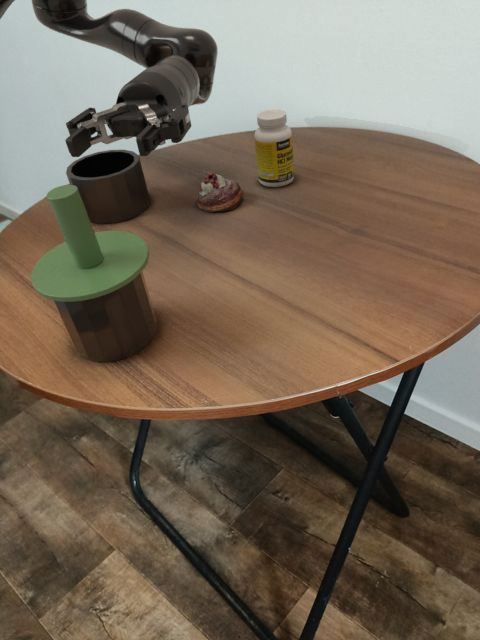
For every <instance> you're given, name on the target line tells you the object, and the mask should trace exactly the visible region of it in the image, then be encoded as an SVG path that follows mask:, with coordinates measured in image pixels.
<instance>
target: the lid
mask: <svg viewBox="0 0 480 640" xmlns="http://www.w3.org/2000/svg"><path fill="white" fill-rule="evenodd" d="M46 198H47V202H48V203H49V205H50V208H51V210H52V212H53V215H54V217H55V220H56V222H57V224H58V227H59V229H60V232H61V233H62V236H63V238H64V240H65V241H64V242H61V243H60V244H58V245H56V246H54V247H53V248H52V249H51V250H49V251H47V252H46V253H45V254H44V255H42V256H41V257H40V258H39V259H38V261H37V262H36V263H35V264H34V266H33V268H32V271H31V273H30V281H31V284H32V286H33V287H32V288H33V289H34V291H35V292H36V293H37V294H39V295H40V296H41V297H43V298H44V299H47V300H50V301H52V300H55V301H63V302H74V301H83V300H88V299H93V298H97V297H100V296H103V295H106V294H108V293H111V292H113V291H115V290H117V289H119V288H121V287H123V286H125V285H126V284H128V283H129V282H131V281H132V280H133V279H135V278H136V277H137V276H138V275H139V274H140V273H141V272H143V271H144V270H145V268H146V266H147V265H148V263H149V260H150V250H149V246H148V244H147V242H146V241H145V239H143V238H142V237H140V236H139V235H137V234H135V233H133V232H128V231H123V230H104V231H103V230H101V231H96V232H95V230H94V227H93V225H92V223H91V222H90V220H89V217H88V214H87V212H86V209H85V206H84V204H83V201H82V198H81V196H80V193H79V191H78V188H77V187H76V186H75V185H70V184H64V185H59V186H57V187H53V188H52V189H51V190H49V191H48V192H47V193H46Z"/></svg>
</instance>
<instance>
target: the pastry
mask: <svg viewBox="0 0 480 640" xmlns="http://www.w3.org/2000/svg"><path fill="white" fill-rule="evenodd" d="M198 191H199V192H198V193H197V197H196V204H197V206H198V208H199V209H200V210H203V211H205V212H208V213H209V212H211V213H216V212H226V211H231V210H233V209H235V208H236V207H237V206H238V205H239V204H240V203H241V201H242V199H243V197H244V191H243V189H242V188H241V185H240V184H239V182H237V181H235V180H233V179H228V178H224V177H223V176H222V175H220V174H217V173H214V172H212V171H206V176H205V177H204V179H203V180H202V181H201V183H200V184H199V187H198Z"/></svg>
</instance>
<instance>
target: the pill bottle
mask: <svg viewBox="0 0 480 640" xmlns="http://www.w3.org/2000/svg"><path fill="white" fill-rule="evenodd" d="M287 120H288V119H287V111H285V110H282V109H268V110H264V111H260V112H258V114H257V115H256V122H257V126H258V127H257V128H256V130H255V132H254V135H253V136H254V137H253V138H254V148H255V156H256V157H255V158H256V167H257V177H258V181H259V184H261V185H262V186H264V187H268V188H281V187H285V186H287V185H290V184H291V183H292V182H293V181H294V179H295V165H294V147H293V146H294V145H293V132H292V128H291V127H289V126H288V125H287Z"/></svg>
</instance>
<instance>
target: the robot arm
mask: <svg viewBox="0 0 480 640" xmlns="http://www.w3.org/2000/svg"><path fill="white" fill-rule="evenodd" d="M15 1H16V0H0V20H2V18H3V16H4V15H5V14H6V12H7V11H8V9H9V8H10V7H11V6H12V4H13V3H14V2H15ZM31 4H32V9H33V13H34V16H35V17H36V19H37V21H38V22H39V23H40V24H41V25H42V26H44V27H46V28H48V29H49V30H50V31H54V32H56V33H58V34H62V35H65V36H68V37H70V38H73V39H76V40H79V41H82V42H86V43H89V44H91V45H96V46H98V47H102V48H105V49H108V50H110V51H113V52H115V53H117V54H119V55H121V56H123V57H125V58H127V59H128V60H130V61H133V62H134V63H135V64H138V65H139V66H141V67H143V68H144V70H142V71H141V72H140V73H138V74H137V75H136V76H134V77H133V78H132V79H131V80H130V81H128V82H127V83H125V84H124V85H123V86H122V87H121V89H120V91H119V93H118V95H117V97H116V102H115V104H113V105H112V107H111V108H107V109H104V110H102V111H99V112H97V110H96V108H95V107H88V108H86V109H85V110H83V111H82V112H80V113H78V114H77V115H76V116H75V117H73V118H71V119H70V120H68V121H67V122H65V126H66V128H67V131H68V134H69V136H67V138H66V139H65V140H64V141H65V144H66V148H67V150H68V153H69V154H70V157H72V158H81V157H82V155H84V153H85V152H87V151H88V150H89V149H90V148H92V146H93V145H94V146H95V145H96V144H99V143H102V144H105V145H110V144H112V143H115V142H119V141H120V140H123V139H125V140H129V139H132V138H135V141H136V146H137V149H138V150H137V151H138V153H139V154H138V155H139V157H148V156H149V155H150V154H151V153H152V152H153V151H155V150H156V149H157V148H158V147H159V146H163V145H165V144H166V141H167V140H170V141H171V143H173V144H179V143H180V142H182V141H183V140H184V138H185V136H186V135H187V133H188V132H189V131H190V129H191V128H192V121H191V116H190V109H189V108H190V107H191V106H197V105H203V104H205V103H207V102H208V100H209V99H210V97H211V95H212V92H213V86H214V80H215V72H216V66H217V61H218V52H219V51H218V49H219V48H218V44H217V42H216V40H215V38H214V37H213V36H212V35H211V34H210V33H209V32H207V31H206V30H203V29H200V28H193V27H192V28H191V27H177V26H173V25H168V24H165V23H162V22H160V21H157V20H156V19H154V18H152V17H150V16H148V15H146V14H144V13H142V12H140V11H138V10H135V9H130V8H119V9H115V10H113V11H110V12H109V13H106V14H105V15H102V16H101V17H98V18H94V17H92V16H91V15H90V14H89V13H88V0H31ZM106 126H107V127H108V129H109V130H110V132H111V133H112V134H108V132H107V129H106ZM96 133H97V134H96ZM95 134H96V135H95ZM93 135H95V136H93Z"/></svg>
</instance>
